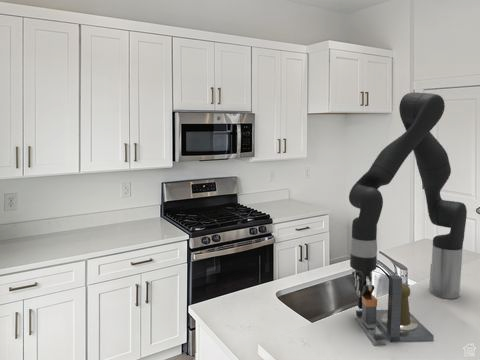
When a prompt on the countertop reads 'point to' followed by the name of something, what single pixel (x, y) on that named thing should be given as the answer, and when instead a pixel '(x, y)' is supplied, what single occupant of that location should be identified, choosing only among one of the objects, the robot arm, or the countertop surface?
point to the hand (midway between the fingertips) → (361, 307)
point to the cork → (405, 306)
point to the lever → (369, 311)
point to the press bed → (391, 318)
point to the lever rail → (371, 331)
